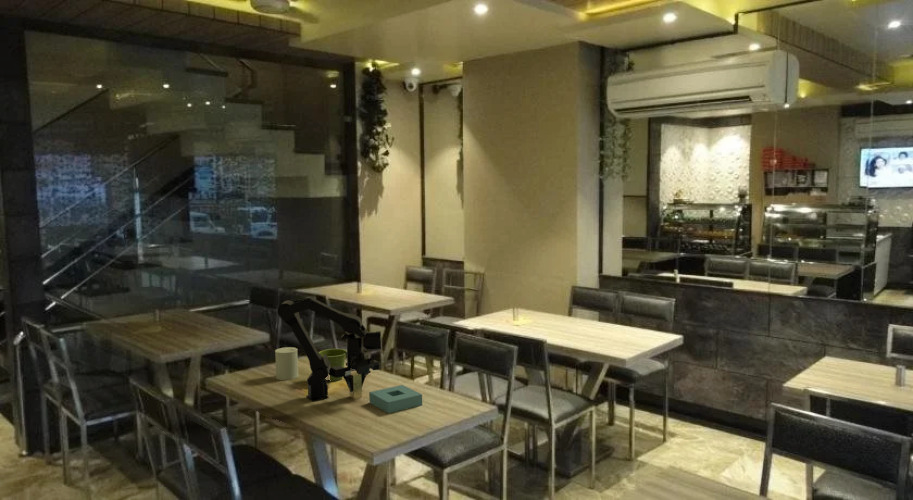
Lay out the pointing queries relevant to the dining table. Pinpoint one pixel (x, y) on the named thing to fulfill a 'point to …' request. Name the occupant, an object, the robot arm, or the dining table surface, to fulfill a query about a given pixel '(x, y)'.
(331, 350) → the plant pot
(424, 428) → the dining table surface
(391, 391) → the socket block
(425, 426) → the dining table surface
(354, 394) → the peg
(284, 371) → the can
